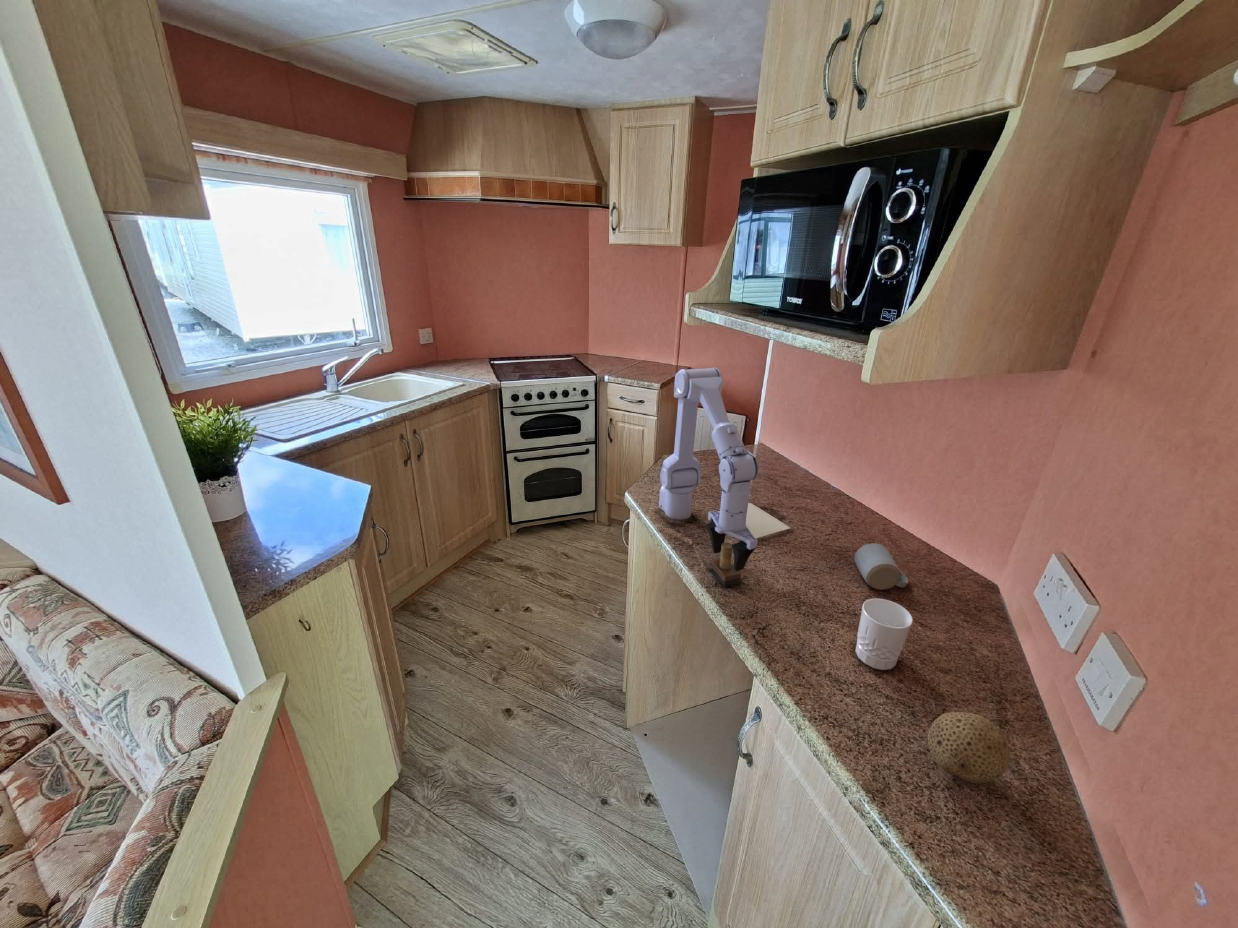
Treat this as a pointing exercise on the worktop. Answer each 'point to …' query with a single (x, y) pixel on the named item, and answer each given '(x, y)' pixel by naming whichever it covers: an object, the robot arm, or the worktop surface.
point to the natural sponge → (968, 747)
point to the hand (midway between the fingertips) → (727, 560)
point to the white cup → (882, 633)
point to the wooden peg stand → (725, 567)
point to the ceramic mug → (879, 567)
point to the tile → (762, 522)
